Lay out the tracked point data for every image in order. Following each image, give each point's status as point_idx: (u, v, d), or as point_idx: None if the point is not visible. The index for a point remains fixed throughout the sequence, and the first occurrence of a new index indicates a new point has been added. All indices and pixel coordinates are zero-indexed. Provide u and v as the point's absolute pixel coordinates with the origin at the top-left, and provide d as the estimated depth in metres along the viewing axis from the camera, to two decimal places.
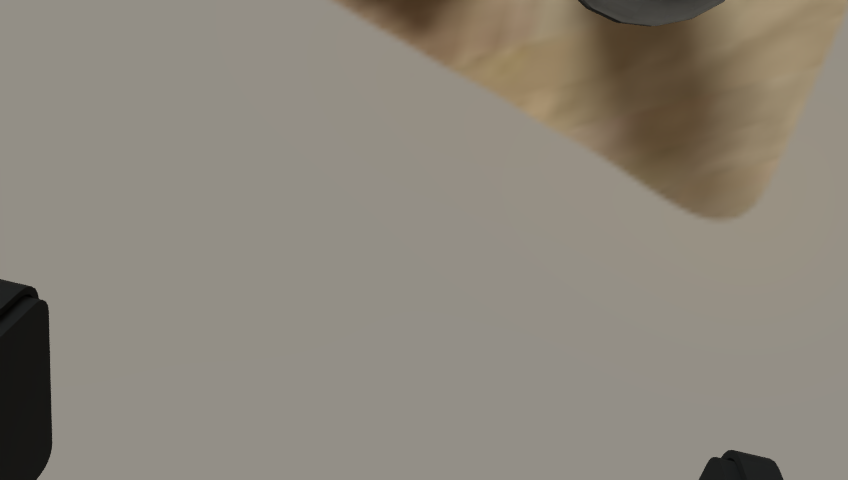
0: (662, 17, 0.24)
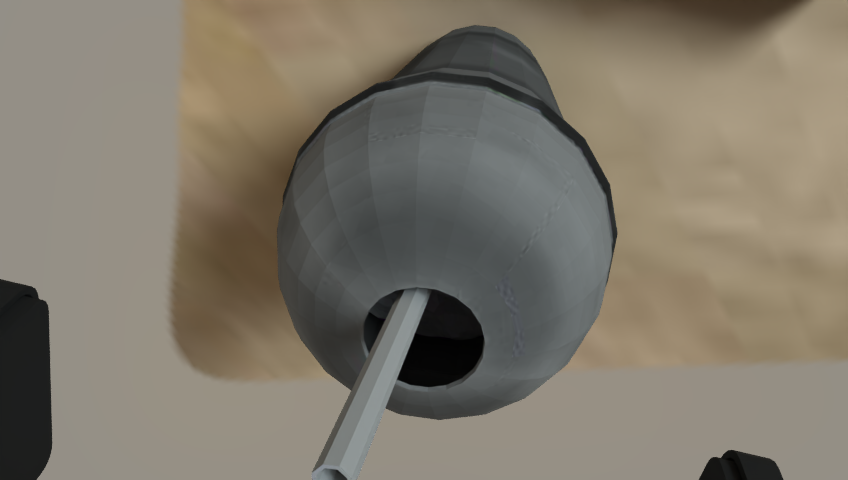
0: (298, 334, 0.15)
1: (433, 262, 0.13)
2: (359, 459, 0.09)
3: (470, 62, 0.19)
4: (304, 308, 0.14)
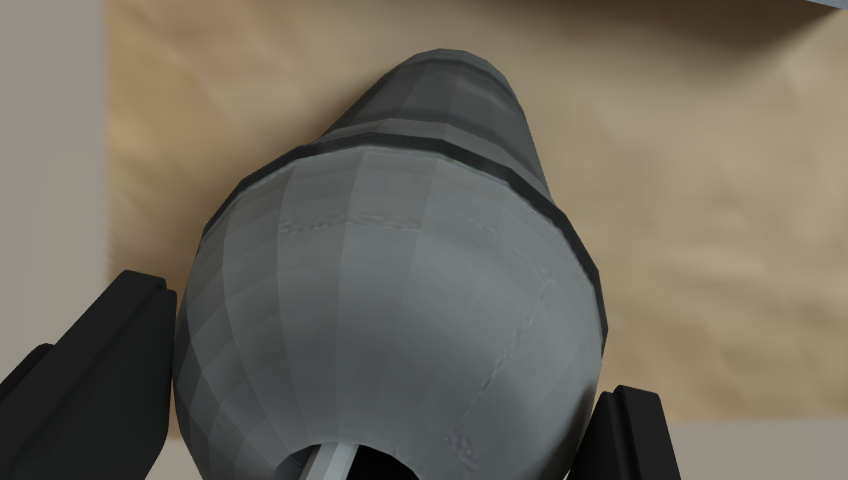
0: (200, 471, 0.12)
1: (360, 408, 0.09)
2: None
3: (426, 105, 0.15)
4: (198, 451, 0.11)
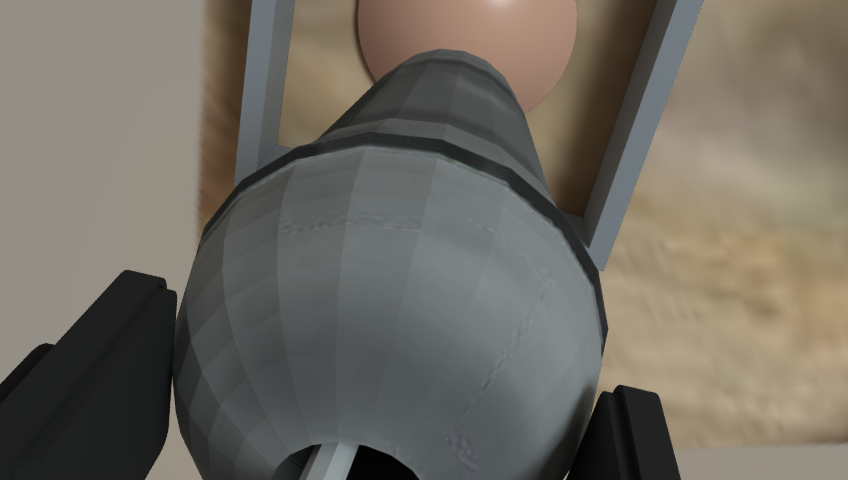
0: (200, 471, 0.12)
1: (360, 408, 0.09)
2: None
3: (426, 106, 0.15)
4: (198, 451, 0.11)
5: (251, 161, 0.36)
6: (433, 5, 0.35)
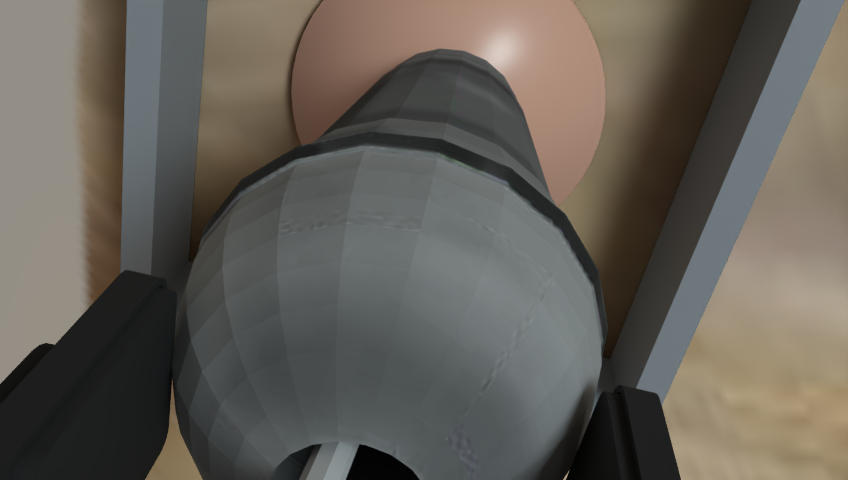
0: (200, 471, 0.12)
1: (360, 407, 0.09)
2: None
3: (426, 105, 0.15)
4: (198, 451, 0.11)
5: None
6: None
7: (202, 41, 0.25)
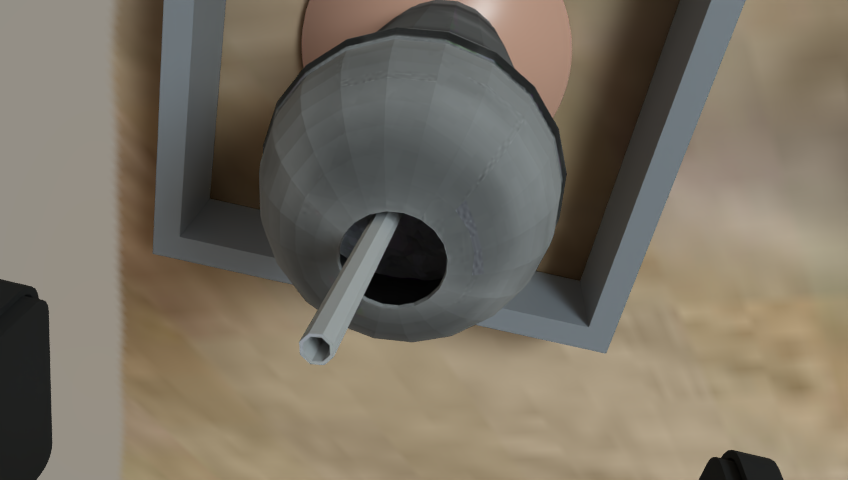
0: (280, 267, 0.17)
1: (400, 189, 0.14)
2: (339, 332, 0.11)
3: (432, 25, 0.20)
4: (285, 238, 0.16)
5: (172, 225, 0.29)
6: None
7: (224, 1, 0.28)
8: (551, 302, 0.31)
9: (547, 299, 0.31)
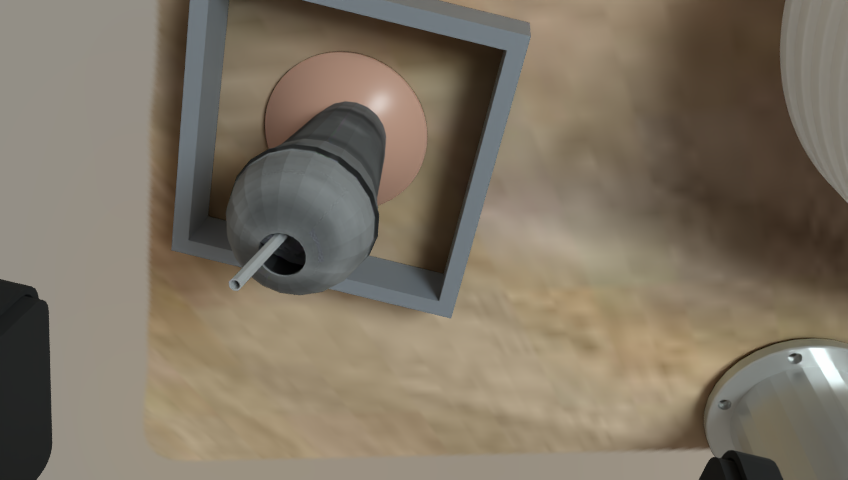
0: (235, 257, 0.36)
1: (284, 223, 0.33)
2: (244, 279, 0.29)
3: (322, 133, 0.39)
4: (236, 243, 0.34)
5: (184, 233, 0.48)
6: None
7: (218, 98, 0.47)
8: (419, 286, 0.49)
9: (417, 284, 0.49)
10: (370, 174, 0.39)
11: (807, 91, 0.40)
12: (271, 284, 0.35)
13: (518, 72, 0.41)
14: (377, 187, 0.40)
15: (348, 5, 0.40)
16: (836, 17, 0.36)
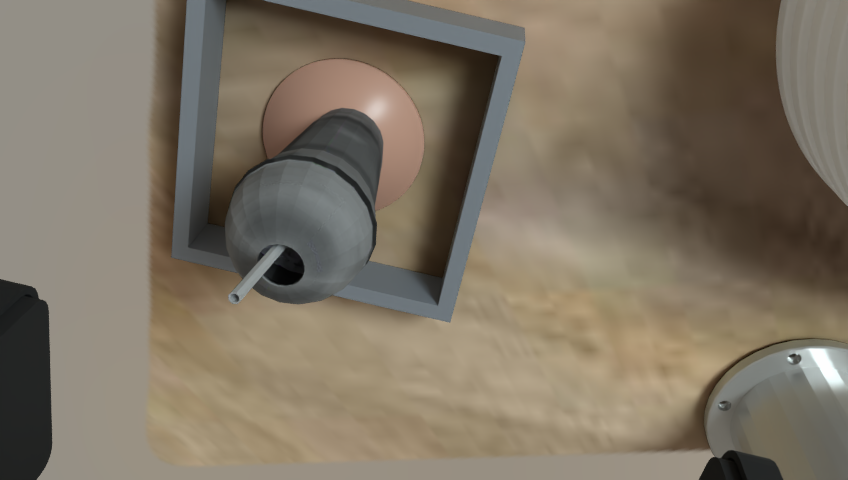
0: (234, 267, 0.36)
1: (282, 234, 0.33)
2: (243, 292, 0.30)
3: (319, 142, 0.39)
4: (235, 254, 0.35)
5: (183, 240, 0.48)
6: None
7: (216, 106, 0.47)
8: (418, 290, 0.49)
9: (416, 288, 0.49)
10: (367, 182, 0.39)
11: (803, 93, 0.40)
12: (270, 294, 0.35)
13: (513, 77, 0.41)
14: (375, 195, 0.40)
15: (343, 13, 0.41)
16: (831, 19, 0.36)
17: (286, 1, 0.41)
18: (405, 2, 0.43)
